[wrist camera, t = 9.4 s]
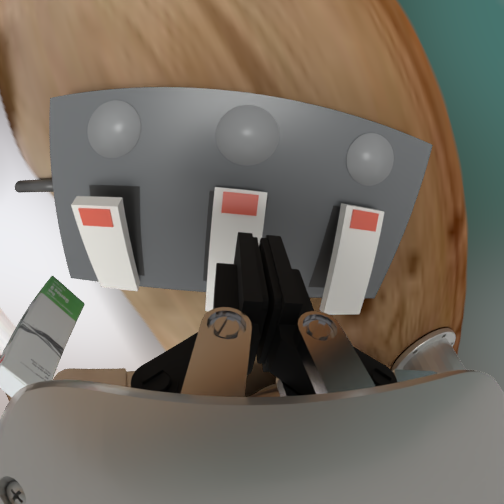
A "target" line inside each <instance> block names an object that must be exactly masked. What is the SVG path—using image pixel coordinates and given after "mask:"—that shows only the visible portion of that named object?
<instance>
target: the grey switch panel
mask: <svg viewBox="0 0 504 504" xmlns="http://www.w3.org/2000/svg"><path fill="white" fill-rule="evenodd" d="M431 149H432V145H431V144H429V143H427V142H425V141H422V140H420V139H418V138H415V137H413V136H410V135H408V134H405V133H403V132H400V131H398V130H395V129H392V128H390V127H387V126H384V125H381V124H378V123H376V122H373V121H370V120H366V119H363V118H360V117H357V116H354V115H350V114H347V113H343V112H340V111H336V110H332V109H329V108H325V107H321V106H317V105H312V104H308V103H303V102H299V101H294V100H289V99H284V98H278V97H272V96H266V95H260V94H253V93H245V92H237V91H228V90H217V89H203V88H182V87H144V88H123V89H110V90H100V91H91V92H83V93H77V94H70V95H64V96H59V97H53V98H50V158H51V171H52V179H45V180H25V181H18V182H17V183H16V185H15V190H16V191H17V192H54V199H55V206H56V212H57V218H58V224H59V229H60V234H61V239H62V243H63V248H64V253H65V256H66V261H67V265H68V268H69V272H70V276H71V278H76V279H83V280H91V281H98V279H97V276H96V274H95V271H94V269H93V267H92V264H91V262H90V259H89V256H88V254H87V251H86V249H85V246H84V243H83V240H82V237H81V235H80V232H79V229H78V226H77V223H76V220H75V216H74V213H73V210H72V207H71V204H72V203H73V201H74V200H75V198H76V197H77V196H93V197H122V198H123V205H124V211H125V216H126V222H127V227H128V232H129V237H130V242H131V247H132V251H133V256H134V260H135V264H136V268H137V272H138V276H139V280H140V284H139V286H143V287H153V288H163V289H175V290H186V291H199V292H206V290H207V274H208V259H209V246H210V234H211V222H212V211H213V201H214V191H215V187H221V188H232V189H242V190H251V191H260V192H267V201H266V209H265V218H264V226H263V234H262V238H265V237H266V235H275V236H281V238H282V241H283V244H284V247H285V250H286V253H287V256H288V259H289V262H290V265H291V268H292V269H298V270H299V271H300V273H301V276H302V279H303V281H304V284H305V287H306V290H307V293H308V295H309V297H316V298H322V297H323V293H324V288H325V284H326V280H327V275H328V270H329V266H330V261H331V256H332V251H333V246H334V241H335V236H336V230H337V225H338V219H339V213H340V207H341V203H343V204H349V205H355V206H360V207H366V208H371V209H377V210H380V211H384V217H383V223H382V228H381V233H380V237H379V242H378V246H377V251H376V255H375V259H374V264H373V268H372V272H371V275H370V279H369V283H368V287H367V290H366V294H365V297H364V298H375V296H376V294H377V292H378V290H379V288H380V286H381V283H382V281H383V279H384V277H385V275H386V273H387V271H388V269H389V266H390V264H391V262H392V260H393V257H394V255H395V253H396V251H397V248H398V246H399V243H400V241H401V239H402V236H403V234H404V231H405V229H406V226H407V223H408V221H409V218H410V215H411V213H412V210H413V207H414V204H415V201H416V199H417V196H418V193H419V190H420V186H421V183H422V180H423V177H424V174H425V170H426V167H427V163H428V160H429V156H430V153H431Z"/></svg>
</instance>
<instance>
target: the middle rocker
mask: <svg viewBox="0 0 504 504" xmlns="http://www.w3.org/2000/svg"><path fill="white" fill-rule="evenodd" d="M266 201H267V192H260V191H251V190H242V189H232V188H221V187H215V191H214V201H213V211H212V222H211V234H210V246H209V259H208V274H207V290H206V308H205V311H210V310H212V309H213V302H214V286H215V274H216V263H226V264H234V257H235V250H236V242H237V235H238V232H244V233H252V234H253V237H257V238H258V243H259V244H260V239H261V238H262V234H263V226H264V218H265V209H266Z"/></svg>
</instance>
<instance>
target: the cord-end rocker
mask: <svg viewBox="0 0 504 504" xmlns="http://www.w3.org/2000/svg"><path fill="white" fill-rule="evenodd" d="M71 207H72V210H73V213H74V216H75V220H76V223H77V226H78V229H79V232H80V235H81V237H82V240H83V243H84V246H85V249H86V251H87V254H88V256H89V259H90V262H91V264H92V267H93V269H94V271H95V274H96V276H97V279H98V281H99V283H100V286H101V287H106V288H114V289H123V290H131V291H138V289H139V284H140V280H139V276H138V272H137V268H136V264H135V260H134V256H133V251H132V247H131V242H130V237H129V232H128V227H127V222H126V216H125V211H124V205H123V198H122V197H93V196H77V197H76V198H75V200H74V201H73V203H72V204H71Z"/></svg>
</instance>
